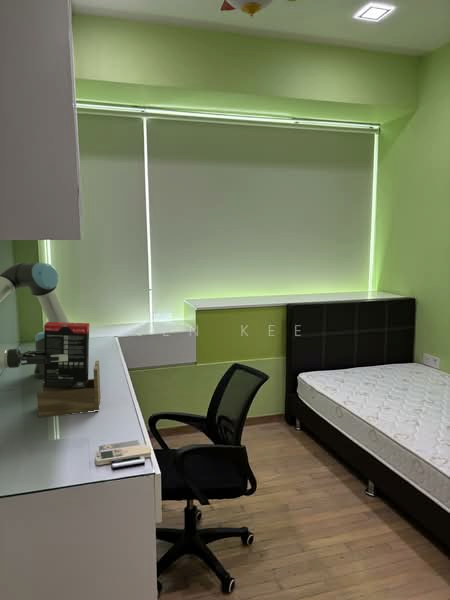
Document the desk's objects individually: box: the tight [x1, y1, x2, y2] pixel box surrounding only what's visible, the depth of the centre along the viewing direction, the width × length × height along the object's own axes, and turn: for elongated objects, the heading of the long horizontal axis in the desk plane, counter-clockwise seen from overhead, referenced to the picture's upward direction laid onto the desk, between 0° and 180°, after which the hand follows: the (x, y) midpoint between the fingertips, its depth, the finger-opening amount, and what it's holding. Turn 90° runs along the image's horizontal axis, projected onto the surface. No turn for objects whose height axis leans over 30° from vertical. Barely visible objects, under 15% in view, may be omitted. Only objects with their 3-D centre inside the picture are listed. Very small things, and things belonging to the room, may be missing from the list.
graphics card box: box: [43, 321, 90, 388], centre depth 177 cm, size 17×7×27 cm, turn 100°
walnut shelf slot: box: [36, 360, 102, 418], centre depth 180 cm, size 14×23×18 cm, turn 103°
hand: (68, 355), depth 177 cm, fingers closed on graphics card box, 6 cm apart
